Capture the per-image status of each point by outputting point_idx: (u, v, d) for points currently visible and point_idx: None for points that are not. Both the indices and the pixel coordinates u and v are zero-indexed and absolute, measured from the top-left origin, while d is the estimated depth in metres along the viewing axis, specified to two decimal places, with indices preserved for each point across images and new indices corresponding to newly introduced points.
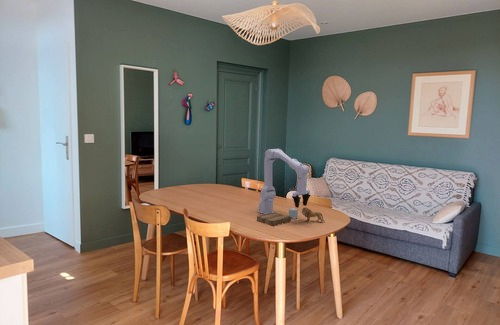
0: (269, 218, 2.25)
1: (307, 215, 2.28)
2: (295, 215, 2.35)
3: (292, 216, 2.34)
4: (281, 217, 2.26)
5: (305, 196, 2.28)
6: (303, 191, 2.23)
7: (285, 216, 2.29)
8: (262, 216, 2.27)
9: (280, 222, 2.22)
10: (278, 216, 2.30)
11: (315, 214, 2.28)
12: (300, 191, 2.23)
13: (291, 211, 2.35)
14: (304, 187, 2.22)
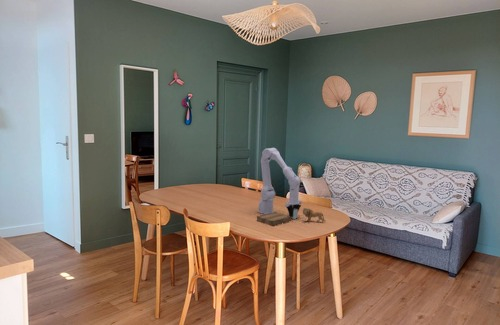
0: (269, 218, 2.25)
1: (308, 215, 2.28)
2: (295, 215, 2.35)
3: (292, 216, 2.34)
4: (281, 217, 2.26)
5: (296, 206, 2.37)
6: (295, 201, 2.33)
7: (285, 216, 2.29)
8: (262, 216, 2.27)
9: (280, 222, 2.22)
10: (278, 216, 2.30)
11: (316, 214, 2.28)
12: (292, 201, 2.33)
13: None
14: (296, 198, 2.33)
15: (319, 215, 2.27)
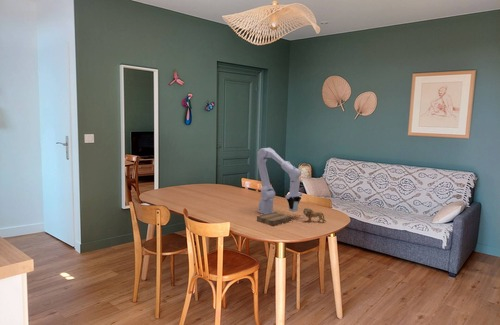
0: (269, 218, 2.25)
1: (308, 215, 2.28)
2: (295, 207, 2.34)
3: None
4: (281, 217, 2.26)
5: (296, 199, 2.37)
6: (295, 194, 2.32)
7: (285, 216, 2.29)
8: (262, 216, 2.27)
9: (280, 222, 2.22)
10: (278, 216, 2.30)
11: (316, 214, 2.28)
12: (292, 193, 2.32)
13: None
14: (296, 190, 2.32)
15: (319, 215, 2.27)
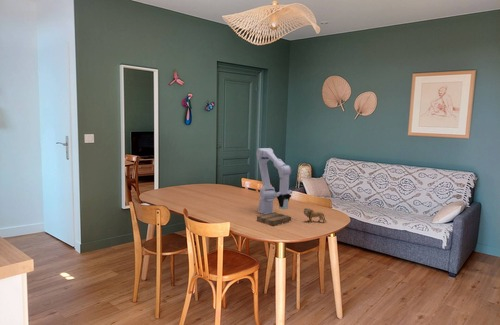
0: (269, 218, 2.25)
1: (309, 215, 2.28)
2: (285, 205, 2.30)
3: None
4: (281, 217, 2.26)
5: (286, 196, 2.32)
6: (285, 191, 2.27)
7: (285, 216, 2.29)
8: (262, 216, 2.27)
9: (280, 222, 2.22)
10: (278, 216, 2.30)
11: (317, 214, 2.28)
12: (282, 191, 2.27)
13: None
14: (286, 187, 2.27)
15: (320, 215, 2.27)
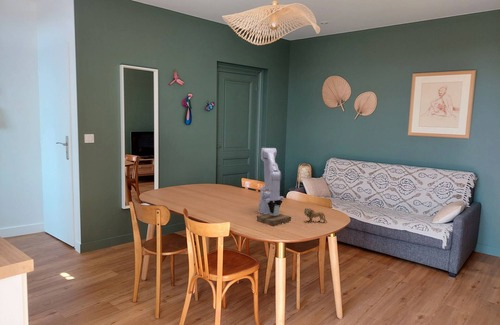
0: (269, 218, 2.25)
1: (309, 215, 2.28)
2: (276, 211, 2.26)
3: (273, 212, 2.26)
4: (281, 217, 2.26)
5: (277, 202, 2.28)
6: (276, 197, 2.24)
7: (285, 216, 2.29)
8: (262, 216, 2.27)
9: (280, 222, 2.22)
10: (278, 216, 2.30)
11: (317, 214, 2.28)
12: (273, 197, 2.24)
13: None
14: (277, 193, 2.24)
15: (320, 215, 2.27)
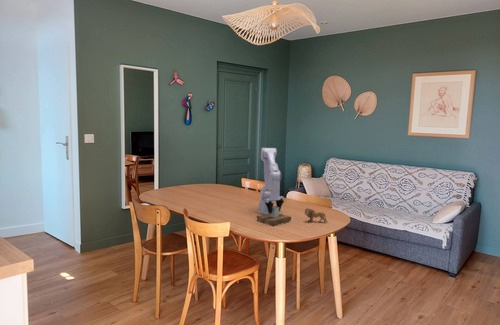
0: (269, 218, 2.25)
1: (310, 215, 2.28)
2: (276, 213, 2.26)
3: (273, 214, 2.26)
4: (281, 217, 2.26)
5: (279, 202, 2.29)
6: (276, 197, 2.24)
7: (285, 216, 2.29)
8: (262, 216, 2.27)
9: (280, 222, 2.22)
10: None
11: (318, 214, 2.28)
12: (273, 197, 2.24)
13: (272, 209, 2.26)
14: (277, 193, 2.24)
15: (321, 215, 2.27)
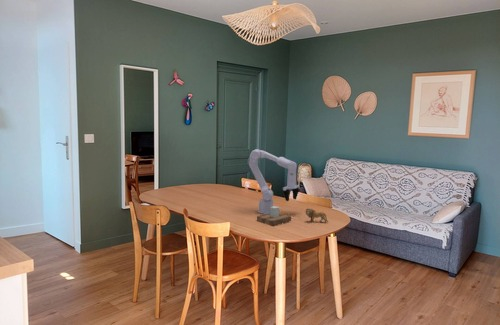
0: (269, 218, 2.25)
1: (311, 215, 2.28)
2: (276, 213, 2.26)
3: (273, 214, 2.26)
4: (281, 217, 2.26)
5: (295, 190, 2.46)
6: (293, 186, 2.40)
7: (285, 216, 2.29)
8: (262, 216, 2.27)
9: (280, 222, 2.22)
10: None
11: (319, 214, 2.28)
12: (290, 186, 2.40)
13: (272, 209, 2.26)
14: (294, 182, 2.40)
15: (322, 215, 2.27)
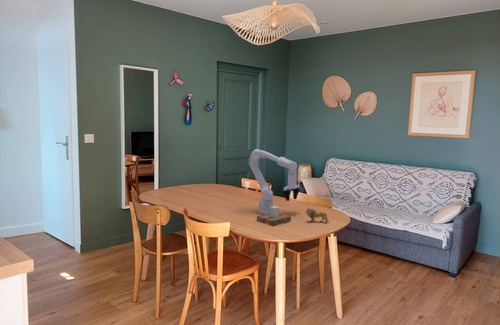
0: (269, 218, 2.25)
1: (312, 215, 2.28)
2: (276, 213, 2.26)
3: (273, 214, 2.26)
4: (281, 217, 2.26)
5: (295, 190, 2.46)
6: (293, 185, 2.41)
7: (285, 216, 2.29)
8: (262, 216, 2.27)
9: (280, 222, 2.22)
10: None
11: (319, 214, 2.28)
12: (290, 185, 2.41)
13: (272, 209, 2.26)
14: (294, 182, 2.41)
15: (323, 215, 2.27)
